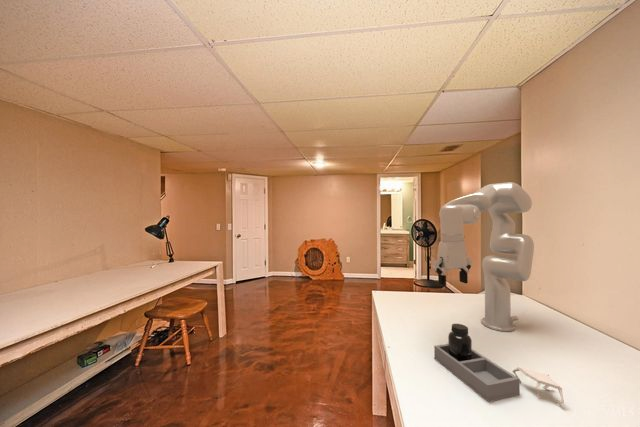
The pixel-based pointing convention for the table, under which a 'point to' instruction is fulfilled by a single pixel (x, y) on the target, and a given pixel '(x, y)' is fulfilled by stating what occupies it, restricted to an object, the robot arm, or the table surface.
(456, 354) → the supplement bottle
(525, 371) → the origami figure
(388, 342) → the table surface
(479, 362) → the divided tray
